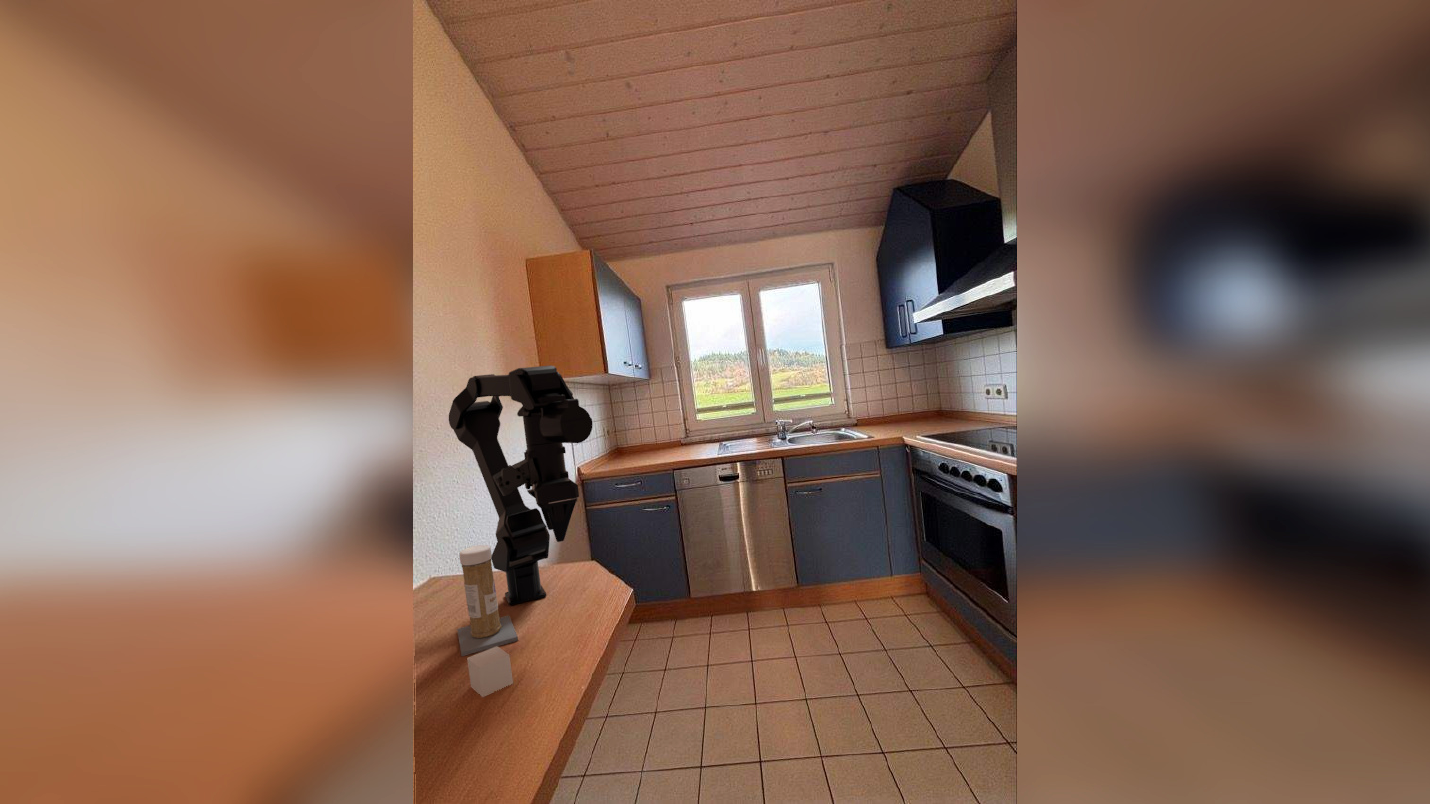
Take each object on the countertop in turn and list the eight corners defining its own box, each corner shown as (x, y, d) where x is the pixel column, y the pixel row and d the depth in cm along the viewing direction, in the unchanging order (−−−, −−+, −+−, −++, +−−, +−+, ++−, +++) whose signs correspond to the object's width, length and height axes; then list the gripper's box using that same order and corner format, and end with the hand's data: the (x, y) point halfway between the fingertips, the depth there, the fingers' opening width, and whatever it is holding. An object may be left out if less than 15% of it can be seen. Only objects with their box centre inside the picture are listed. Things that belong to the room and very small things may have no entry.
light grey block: (471, 687, 80) (467, 657, 79) (500, 674, 82) (497, 646, 82) (482, 697, 76) (478, 667, 76) (513, 684, 79) (509, 654, 79)
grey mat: (457, 632, 98) (457, 628, 98) (509, 618, 101) (508, 615, 101) (461, 656, 89) (461, 652, 89) (518, 640, 92) (517, 636, 92)
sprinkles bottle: (505, 632, 94) (493, 547, 93) (474, 642, 92) (462, 555, 91) (497, 623, 98) (486, 541, 97) (467, 632, 96) (456, 549, 95)
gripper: (489, 445, 106) (500, 533, 107) (496, 455, 88) (510, 560, 89) (554, 436, 110) (564, 520, 111) (573, 444, 93) (585, 544, 94)
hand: (555, 535), depth 101 cm, fingers open, 9 cm apart
